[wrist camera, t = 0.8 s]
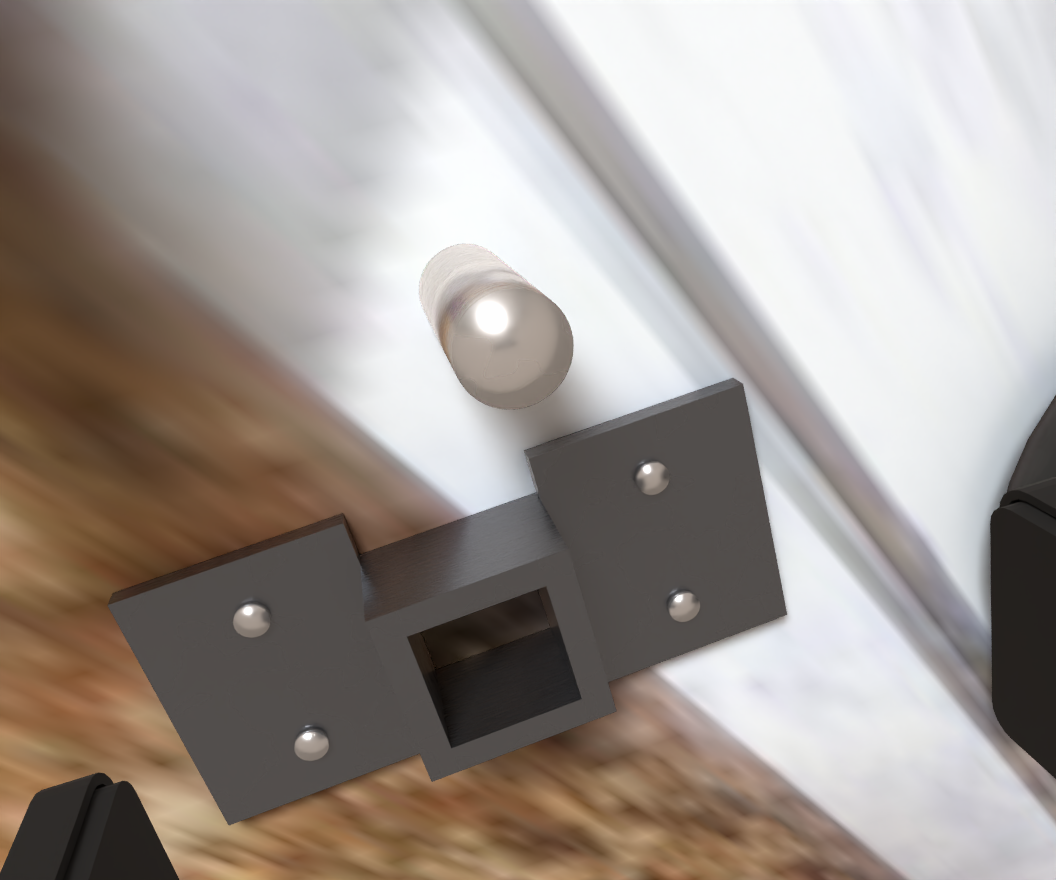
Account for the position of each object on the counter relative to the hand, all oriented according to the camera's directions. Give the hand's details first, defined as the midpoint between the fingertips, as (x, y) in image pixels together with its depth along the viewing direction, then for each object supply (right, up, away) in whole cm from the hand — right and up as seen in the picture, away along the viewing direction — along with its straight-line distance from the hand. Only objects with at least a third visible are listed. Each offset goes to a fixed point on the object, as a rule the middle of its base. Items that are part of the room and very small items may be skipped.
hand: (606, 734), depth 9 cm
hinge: (-3, -3, +23) cm, 24 cm away
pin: (-3, +8, +20) cm, 21 cm away
